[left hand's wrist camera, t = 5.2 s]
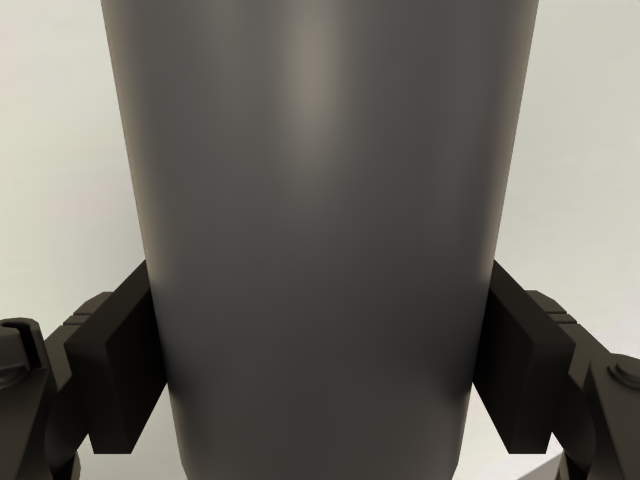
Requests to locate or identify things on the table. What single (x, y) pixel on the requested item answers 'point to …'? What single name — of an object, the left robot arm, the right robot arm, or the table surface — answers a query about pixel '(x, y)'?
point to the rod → (319, 221)
